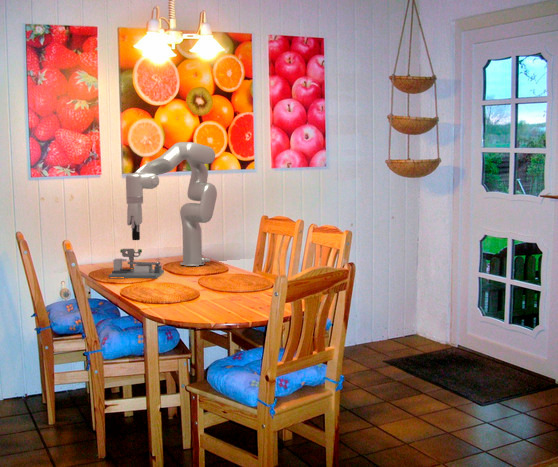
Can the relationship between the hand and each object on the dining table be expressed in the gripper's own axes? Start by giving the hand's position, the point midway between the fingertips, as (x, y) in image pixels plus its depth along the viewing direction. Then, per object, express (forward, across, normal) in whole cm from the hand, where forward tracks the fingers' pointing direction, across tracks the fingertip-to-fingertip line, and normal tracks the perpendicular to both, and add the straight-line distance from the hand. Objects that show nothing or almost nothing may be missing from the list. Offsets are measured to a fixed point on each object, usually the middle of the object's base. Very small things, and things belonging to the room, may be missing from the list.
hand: (136, 239), depth 321 cm
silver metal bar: (+12, 0, +3) cm, 12 cm away
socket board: (+17, 0, 0) cm, 17 cm away
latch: (+15, 0, -8) cm, 17 cm away
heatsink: (+15, 0, +3) cm, 16 cm away
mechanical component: (+17, -17, -7) cm, 25 cm away
